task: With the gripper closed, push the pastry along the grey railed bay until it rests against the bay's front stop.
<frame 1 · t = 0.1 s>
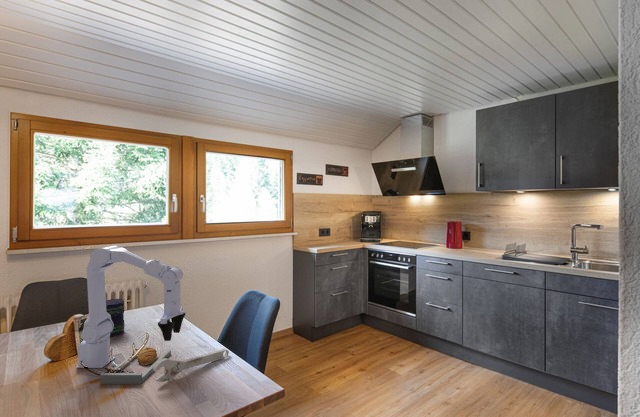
hand: (172, 336, 126), 10 cm above the table, tool pointing down, fingers open, 7 cm apart
bay: (137, 368, 121), on the table
pastry: (148, 360, 128), on the table
storage jar: (112, 334, 154), on the table
wrench: (194, 371, 120), on the table
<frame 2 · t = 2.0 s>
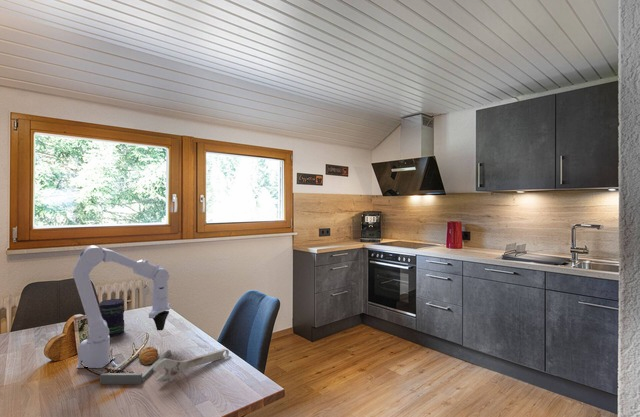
hand: (160, 329, 138), 8 cm above the table, tool pointing down, fingers closed
nothing on the table moved.
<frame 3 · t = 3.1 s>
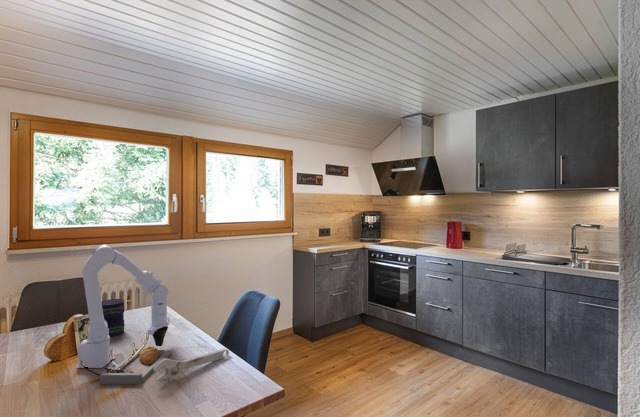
hand: (159, 345, 138), 2 cm above the table, tool pointing down, fingers closed
nothing on the table moved.
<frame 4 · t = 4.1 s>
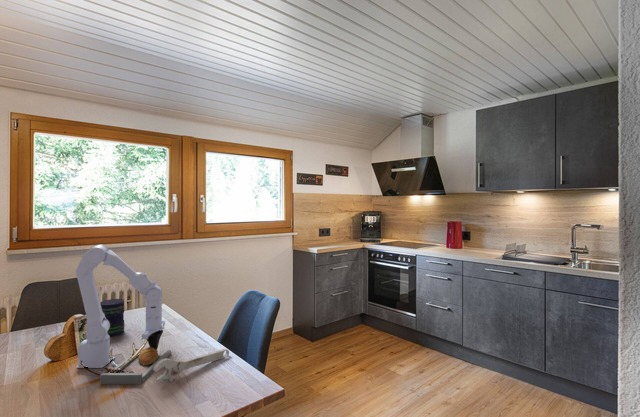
hand: (153, 350, 133), 2 cm above the table, tool pointing down, fingers closed
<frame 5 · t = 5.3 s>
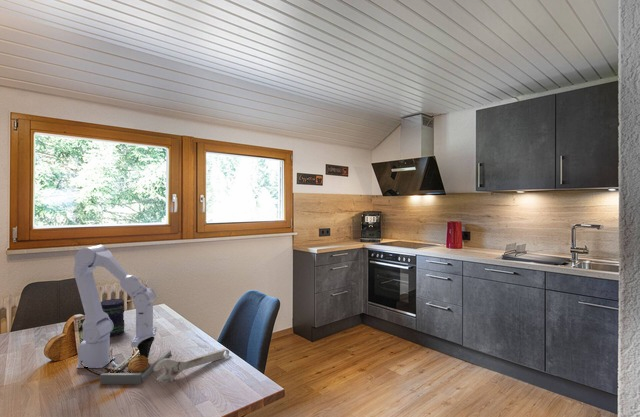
hand: (144, 358, 126), 2 cm above the table, tool pointing down, fingers closed
pastry: (139, 369, 121), on the table, touching gripper
everything else where it was.
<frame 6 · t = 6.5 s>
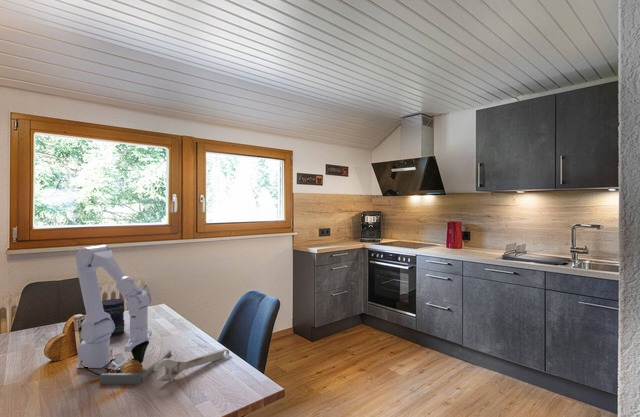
hand: (139, 362, 122), 2 cm above the table, tool pointing down, fingers closed
pastry: (132, 375, 117), on the table, touching gripper
everything else where it was.
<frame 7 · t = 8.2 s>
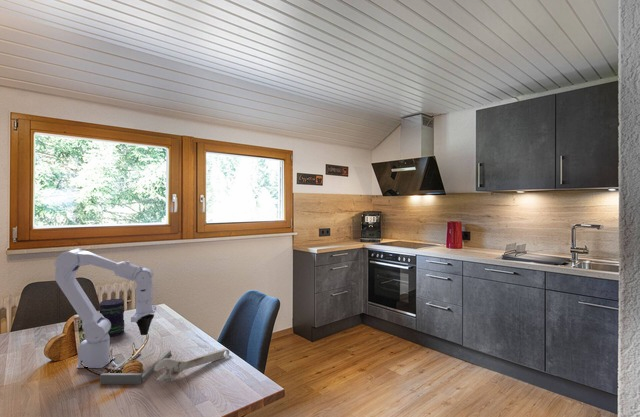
hand: (144, 334, 130), 9 cm above the table, tool pointing down, fingers closed
pastry: (132, 375, 117), on the table
everything else where it was.
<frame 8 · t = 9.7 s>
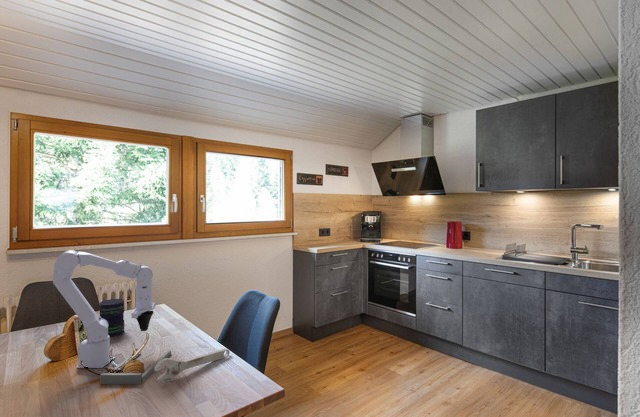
hand: (144, 330, 133), 9 cm above the table, tool pointing down, fingers closed
nothing on the table moved.
at the end: pastry 1.4 cm from the target spot on the bay, point -0.5 cm above the bay's base; pastry moved 10.8 cm from its start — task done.
